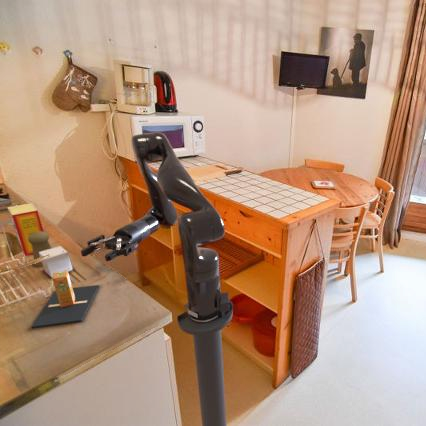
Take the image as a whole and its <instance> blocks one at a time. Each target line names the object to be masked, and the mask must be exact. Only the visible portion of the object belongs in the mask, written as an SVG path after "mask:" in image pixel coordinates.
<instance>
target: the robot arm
mask: <svg viewBox="0 0 426 426" xmlns="http://www.w3.org/2000/svg"><path fill="white" fill-rule="evenodd" d="M130 143H131V148H132V152H133V155H134V158H135V161H136V163H137V166H138V169H139V172H140V175H141V176H142V179H143V182H144V184H145V186H146V190H147V194H148V198H149V203H150V206H151V208H150V209H149V210H148V211H147V212H146V213H145V214H144V216H142V217H140V218H137V220H134V221H131V222H129V223H127V224H125V225H124V226H122V227H120V228H118V229H117V230H115V232H114V233H113V235H112V236H108V237H106V235H105V234H101V235H98V236H96V237H95V238H92V239H90V240H88V241H87V242H86V244H87V246H86V247H84V248H83V249H81V250H80V254H81V257H83V258H84V257H87V256H89V255H90V254H92V253H94V252H98V251H107V250H110V252H108V253H106V254H105V255H104V260H105V261H106V262H111V261H113V260H114V259H116V258H117V257H121V256H123V257H128V256H130V255H131V254H132V253H134V252H136V250H138V249H139V244H140V243H141V242H143V241H144V240H146V239H147V238H149V236H151V235H153V234H154V233H156V232H157V231H158V230H159V229H160V226H164V227H167V228H171V227H173V226H175V225H177V230H178V235H179V241H180V246H181V248H180V249H181V255H182V260H183V268H184V278H185V287H186V288H185V289H186V296H187V297H186V298H187V303H188V307H189V310H188V309H187V311H188V314H189V318H190V319H191V320H192V321H193V322H196V323H208V322H211V321H214V320H215V319H217V318H219V317H222V312H224V311H226V312H225V313H224V314H225V315H227V314H228V313H229V312H230V311H231V310H232V309H233V308H234V304H233V302H232V300H230V295H229V292H221V291H222V290H221V274H220V257H219V253H218V252H217V251H216V250H214V249H212V248H208V247H200V246H203V245H207V244H210V243H213V242H217V241H220V240H221V239H222V238H223V237H224V236H225V235H226V234H225V232H226V226H225V223H224V221H223V218H222V216H221V214H220V213H219V212H218V210H217V209H216V207H215V206H213V204H212V203H211V202H210V201H209V200H208V199H207V197H206V196H205V195H204V194H203V193H202V191H201V190H200V188H199V187H198V185H197V184H196V182H195V181H194V179H193V178H192V176H191V174H190V173H189V172H188V171H187V169H186V168H185V166H184V164H182V162H181V161H180V159H179V157H178V156H177V154H176V152H175V150H174V149H173V146H172V145H171V143H170V141H169V139H168V137H167V136H166V134H164V133H163V132H161V131H152V132H147V133H140V134H135V135H132V137H131V139H130ZM160 160H161V163H160V165H159V167H158V169H157V171H156V172H154V171H153V169H152V168H151V167H150V166H149V163H151V162H156V161H160ZM173 203H175V204H177V205H178V206H181V207H184V208H185V209H188V210H189V211H188V212H184V213H181V214H180V215H178V214H179V213H178V210H177V209H176V207H175V205H174V204H173ZM229 305H230V307H229ZM233 310H234V309H233Z"/></svg>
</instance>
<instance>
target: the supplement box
mask: <svg viewBox="0 0 426 426" xmlns="http://www.w3.org/2000/svg"><path fill="white" fill-rule="evenodd" d="M52 282H53V285H54V286H53V287H54V289H55V291H56V293H57V297H58V300H59V304H60V307H65V306H70V305H74V302H75V295H74V292H73V288H74V287H73V285H72V281H71V277H70V274H69V272H68V271H63V272H55V273H53V277H52Z"/></svg>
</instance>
